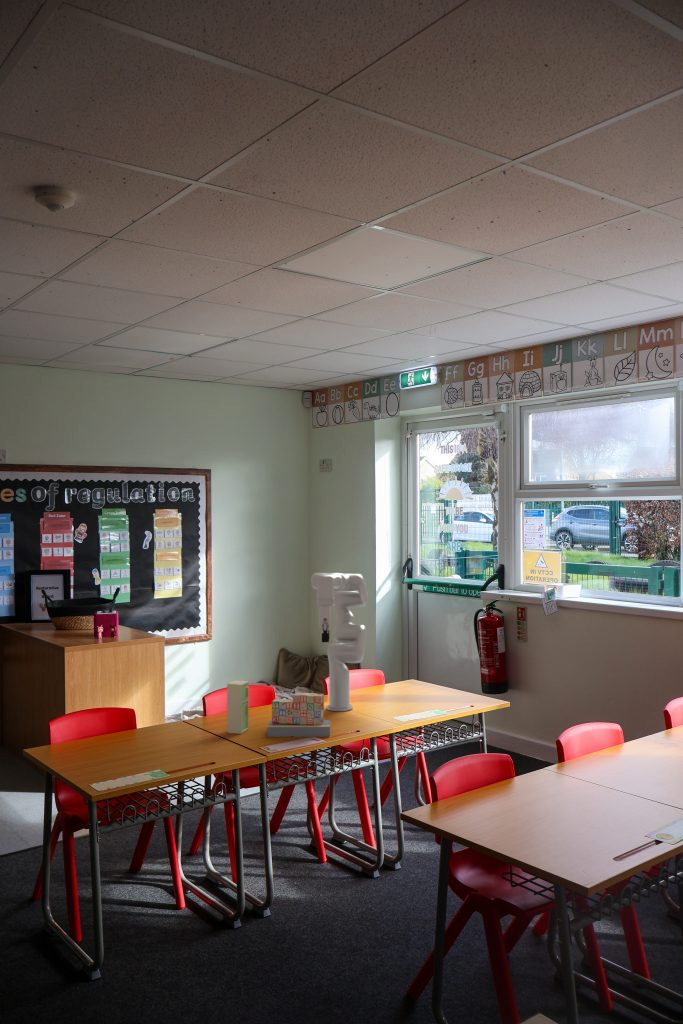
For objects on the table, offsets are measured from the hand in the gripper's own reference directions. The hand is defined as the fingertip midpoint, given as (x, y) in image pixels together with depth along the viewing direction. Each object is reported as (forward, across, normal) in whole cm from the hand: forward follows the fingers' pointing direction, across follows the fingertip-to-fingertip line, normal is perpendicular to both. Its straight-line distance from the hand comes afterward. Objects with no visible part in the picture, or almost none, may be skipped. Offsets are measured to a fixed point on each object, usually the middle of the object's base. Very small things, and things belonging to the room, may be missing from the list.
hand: (325, 640), depth 383 cm
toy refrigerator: (+36, +18, -37) cm, 55 cm away
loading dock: (+36, +21, -11) cm, 43 cm away
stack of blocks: (+32, +21, -12) cm, 40 cm away
